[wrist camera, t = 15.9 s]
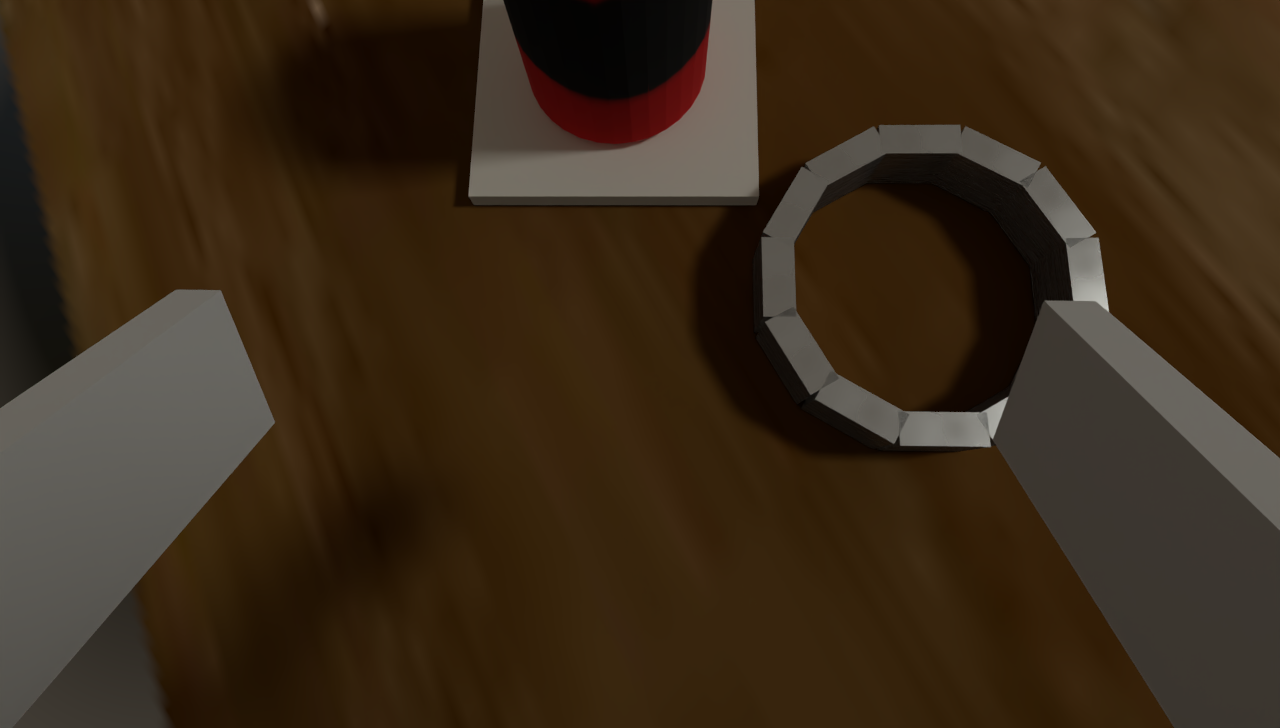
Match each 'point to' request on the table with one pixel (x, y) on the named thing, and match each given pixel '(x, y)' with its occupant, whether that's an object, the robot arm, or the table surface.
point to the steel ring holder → (967, 170)
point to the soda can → (613, 62)
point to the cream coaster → (628, 172)
